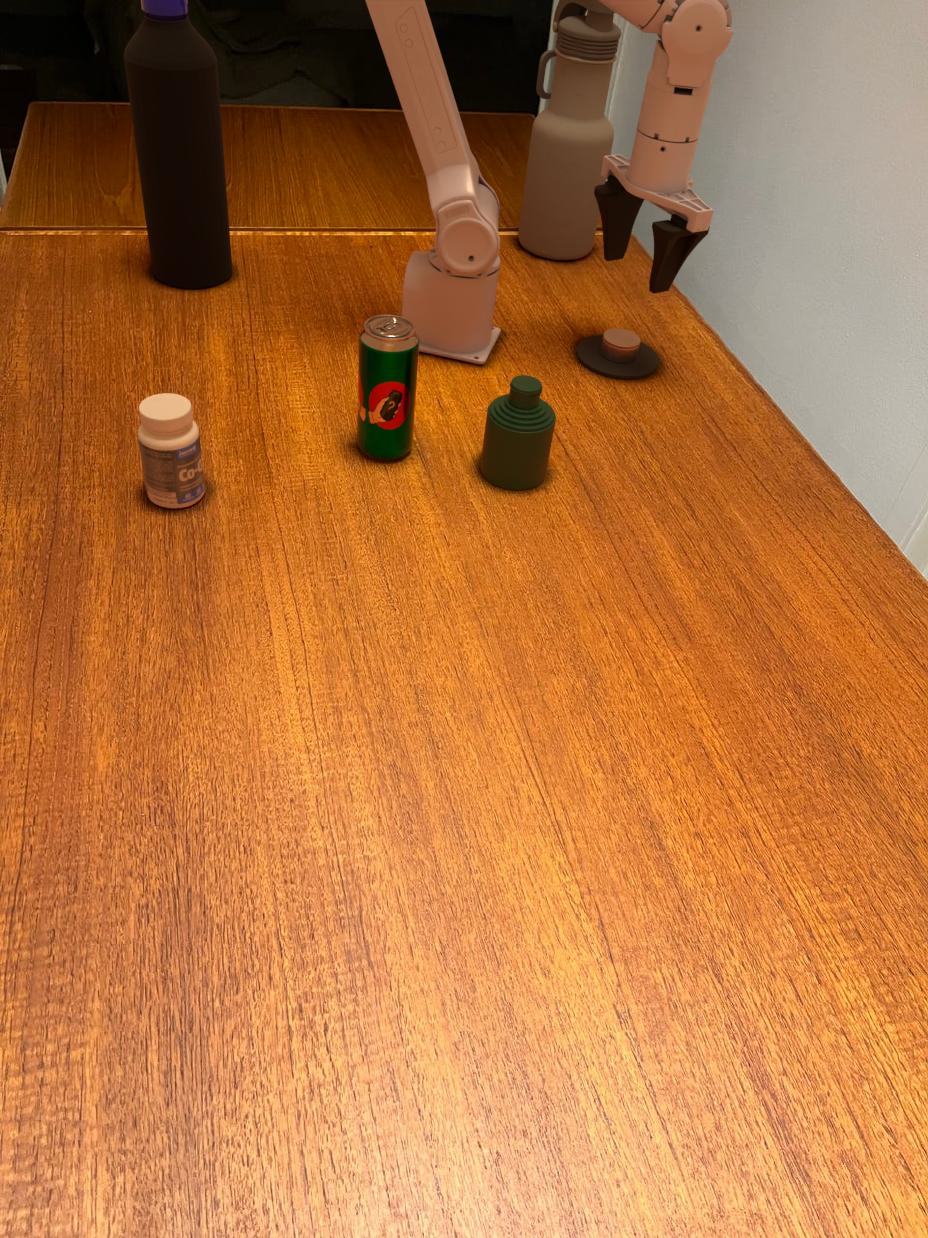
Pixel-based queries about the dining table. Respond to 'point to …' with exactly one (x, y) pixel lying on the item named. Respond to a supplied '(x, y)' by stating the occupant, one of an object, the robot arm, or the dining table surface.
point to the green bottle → (518, 436)
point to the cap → (620, 345)
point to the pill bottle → (170, 451)
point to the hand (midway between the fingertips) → (635, 274)
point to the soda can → (387, 386)
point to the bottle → (179, 147)
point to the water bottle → (570, 134)
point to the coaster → (596, 362)
